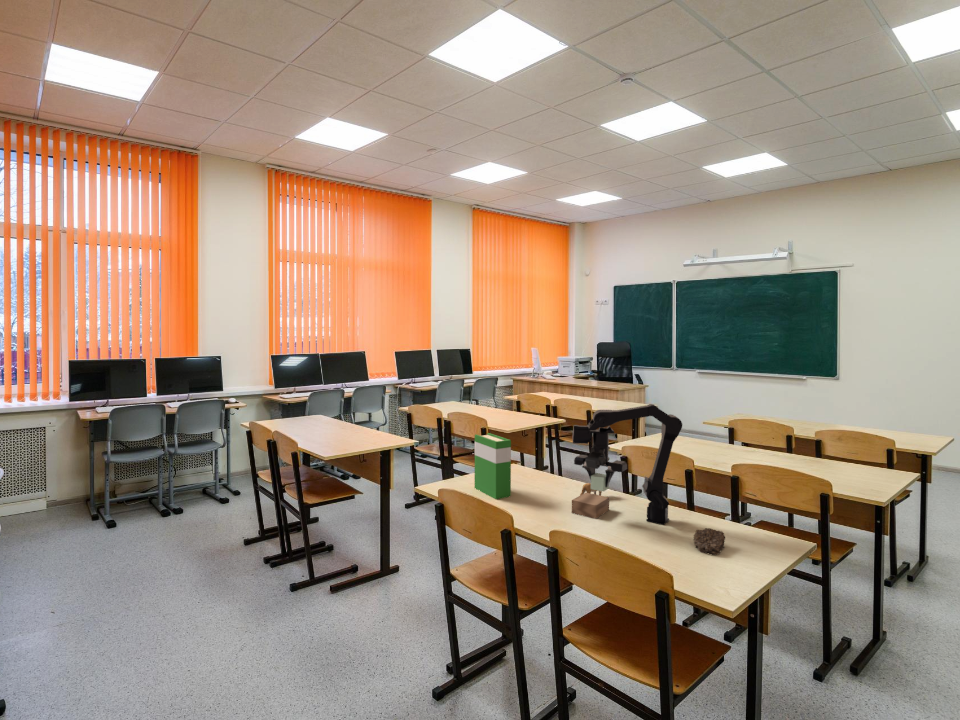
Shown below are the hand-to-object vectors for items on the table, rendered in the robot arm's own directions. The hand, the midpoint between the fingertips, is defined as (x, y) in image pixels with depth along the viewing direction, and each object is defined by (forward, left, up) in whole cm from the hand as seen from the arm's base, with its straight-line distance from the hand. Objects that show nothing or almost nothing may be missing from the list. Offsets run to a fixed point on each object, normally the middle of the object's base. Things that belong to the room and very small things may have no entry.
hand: (599, 485), depth 194 cm
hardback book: (+50, -1, -12) cm, 51 cm away
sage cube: (0, 0, -1) cm, 1 cm away
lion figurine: (+12, -20, -12) cm, 27 cm away
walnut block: (+6, -4, -12) cm, 14 cm away
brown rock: (-39, +3, -13) cm, 41 cm away
